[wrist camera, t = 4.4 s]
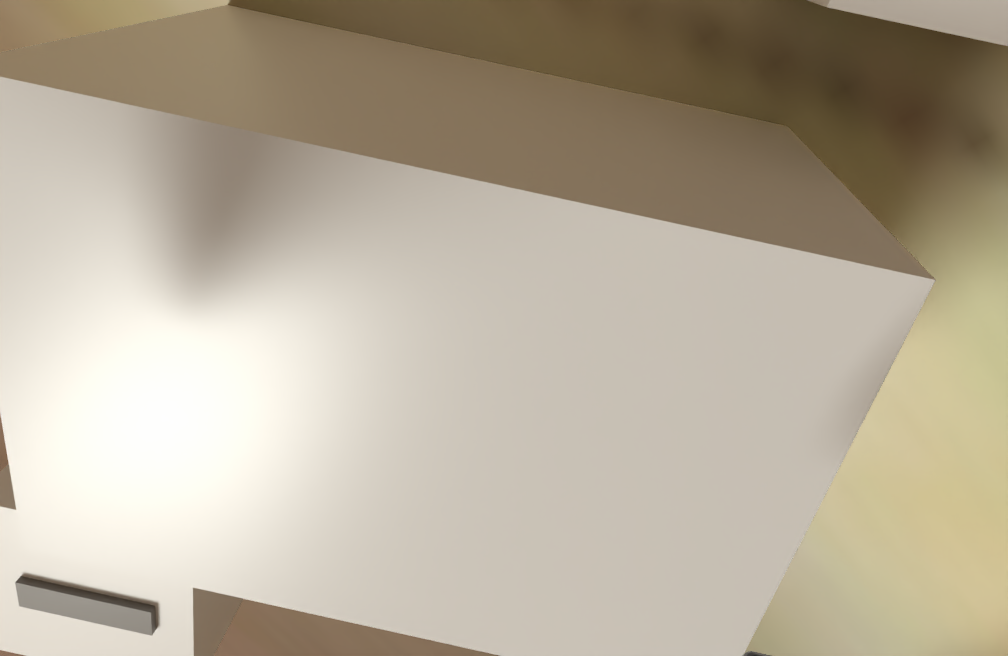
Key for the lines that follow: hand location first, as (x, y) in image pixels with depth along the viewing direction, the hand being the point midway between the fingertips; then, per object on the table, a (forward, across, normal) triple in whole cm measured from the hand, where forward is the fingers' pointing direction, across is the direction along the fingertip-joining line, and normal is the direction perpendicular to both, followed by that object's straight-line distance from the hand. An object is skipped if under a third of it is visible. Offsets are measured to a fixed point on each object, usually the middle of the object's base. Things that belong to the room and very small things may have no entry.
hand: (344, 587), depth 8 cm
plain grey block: (+11, 0, 0) cm, 11 cm away
